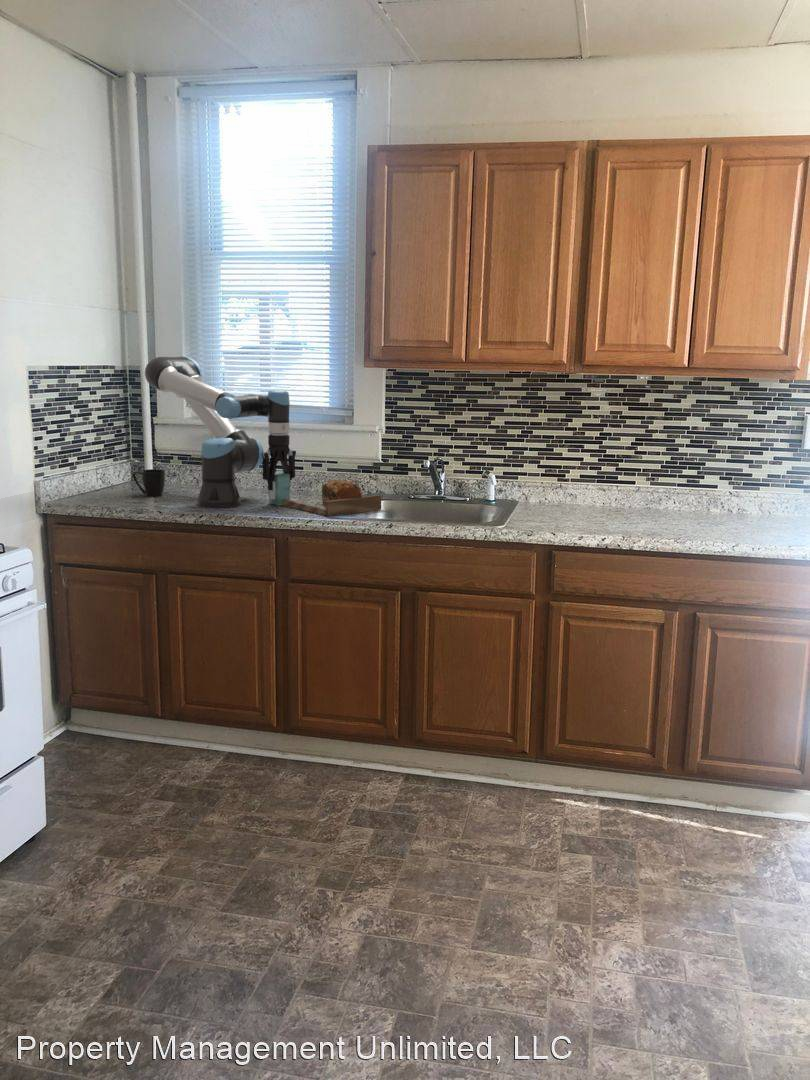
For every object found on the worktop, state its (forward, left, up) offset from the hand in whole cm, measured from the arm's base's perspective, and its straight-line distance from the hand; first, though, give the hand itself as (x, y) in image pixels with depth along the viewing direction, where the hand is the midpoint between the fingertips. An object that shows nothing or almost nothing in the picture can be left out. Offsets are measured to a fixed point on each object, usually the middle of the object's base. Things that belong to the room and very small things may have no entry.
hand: (279, 498), depth 332 cm
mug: (-44, -29, -2) cm, 53 cm away
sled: (+14, +10, -2) cm, 17 cm away
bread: (+19, +14, -3) cm, 23 cm away
